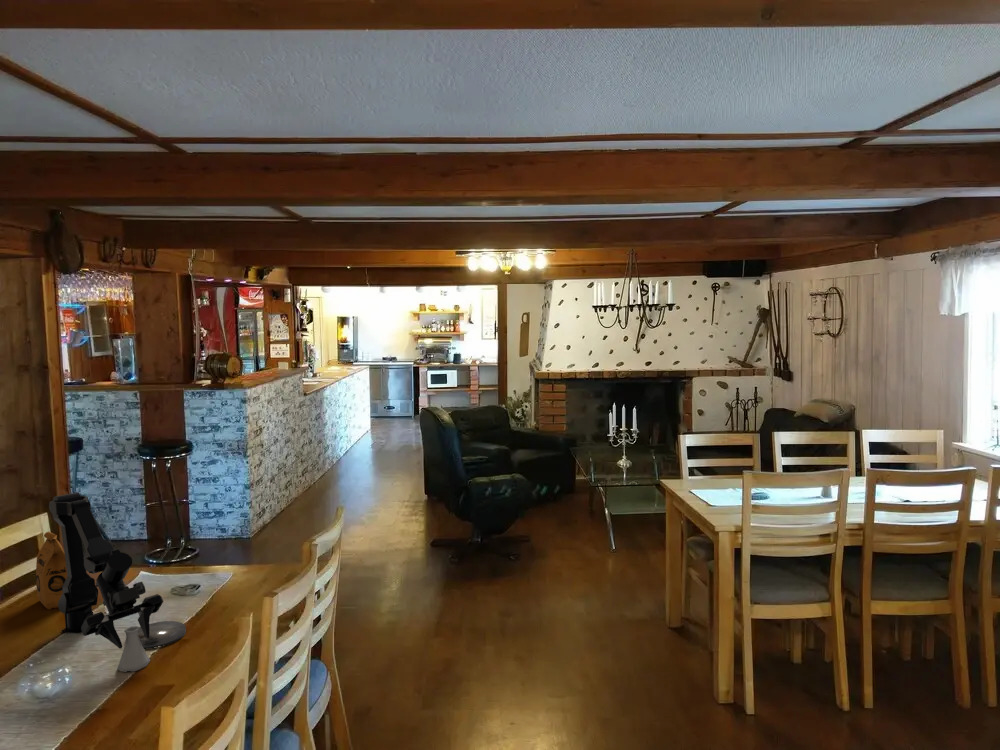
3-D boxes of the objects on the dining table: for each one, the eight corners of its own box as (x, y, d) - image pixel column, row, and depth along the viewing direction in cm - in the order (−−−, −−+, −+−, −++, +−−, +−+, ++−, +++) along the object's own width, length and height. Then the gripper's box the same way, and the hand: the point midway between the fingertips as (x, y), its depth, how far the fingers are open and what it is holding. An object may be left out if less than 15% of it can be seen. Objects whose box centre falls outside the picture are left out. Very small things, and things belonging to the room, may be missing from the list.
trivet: (114, 648, 187) (114, 643, 187) (148, 624, 202) (148, 619, 202) (166, 650, 186) (165, 645, 186) (196, 625, 201) (196, 621, 201)
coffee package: (39, 612, 211) (35, 543, 209) (36, 600, 221) (31, 533, 219) (77, 604, 217) (73, 536, 215) (72, 592, 227) (68, 527, 225)
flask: (136, 674, 173) (133, 636, 173) (111, 671, 175) (109, 633, 174) (155, 660, 181) (153, 623, 180) (131, 658, 182) (129, 621, 181)
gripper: (82, 586, 171) (104, 641, 165) (158, 564, 186) (180, 614, 180) (72, 608, 176) (92, 662, 171) (146, 586, 191) (167, 635, 185)
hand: (134, 642), depth 176 cm, fingers open, 6 cm apart
